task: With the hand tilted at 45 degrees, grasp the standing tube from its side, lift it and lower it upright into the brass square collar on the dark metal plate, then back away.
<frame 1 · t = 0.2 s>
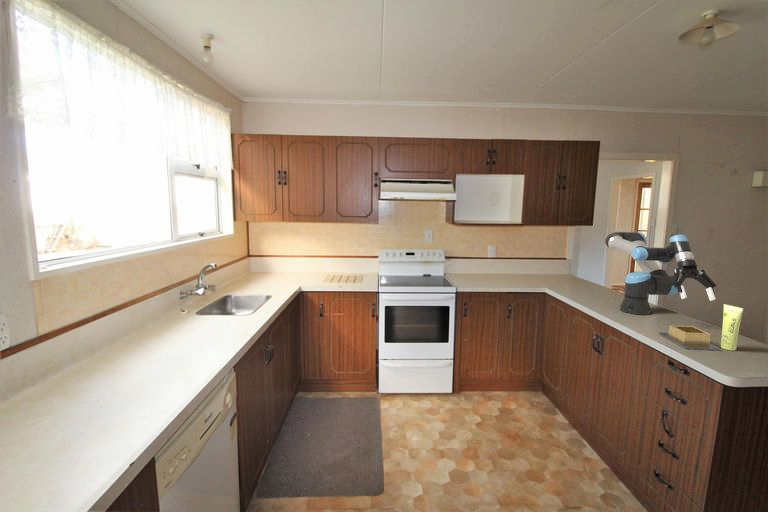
hand: (698, 299, 175), 16 cm above the countertop, tool tilted 35°, fingers open, 13 cm apart
collar plate: (687, 342, 161), on the countertop
tube: (727, 348, 154), on the countertop
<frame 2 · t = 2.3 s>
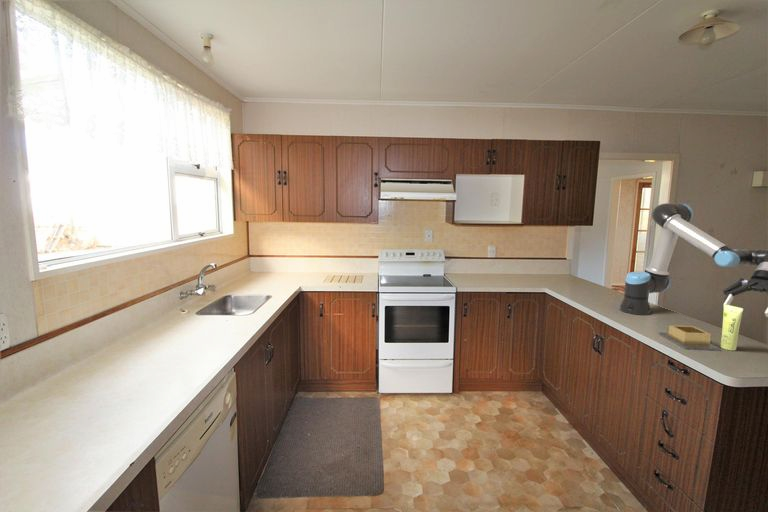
hand: (744, 310, 153), 17 cm above the countertop, tool tilted 45°, fingers open, 13 cm apart
nothing on the countertop moved.
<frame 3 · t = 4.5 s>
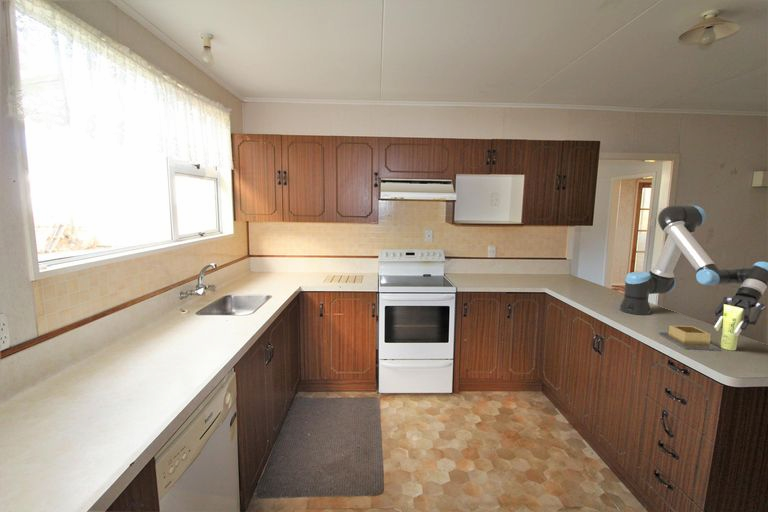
hand: (725, 331, 151), 8 cm above the countertop, tool tilted 45°, fingers closed on tube, 6 cm apart
tube: (727, 348, 154), on the countertop, touching gripper
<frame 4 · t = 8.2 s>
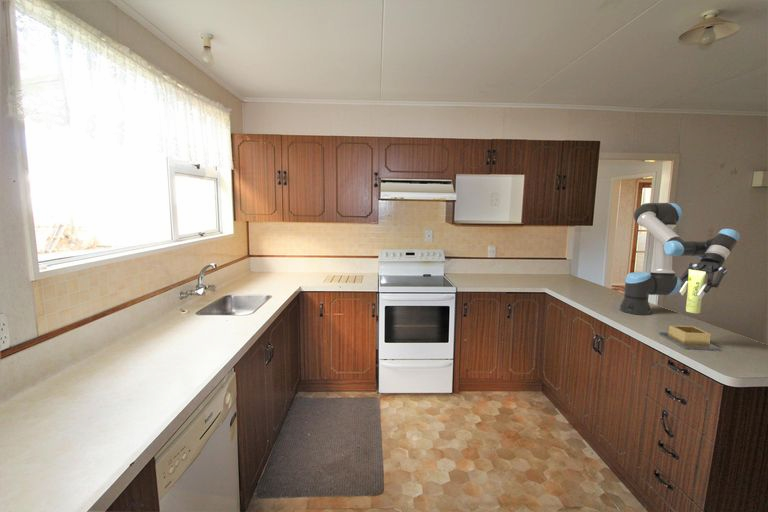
hand: (690, 295, 156), 23 cm above the countertop, tool tilted 45°, fingers closed on tube, 6 cm apart
tube: (692, 312, 159), point 14 cm above the countertop, touching gripper
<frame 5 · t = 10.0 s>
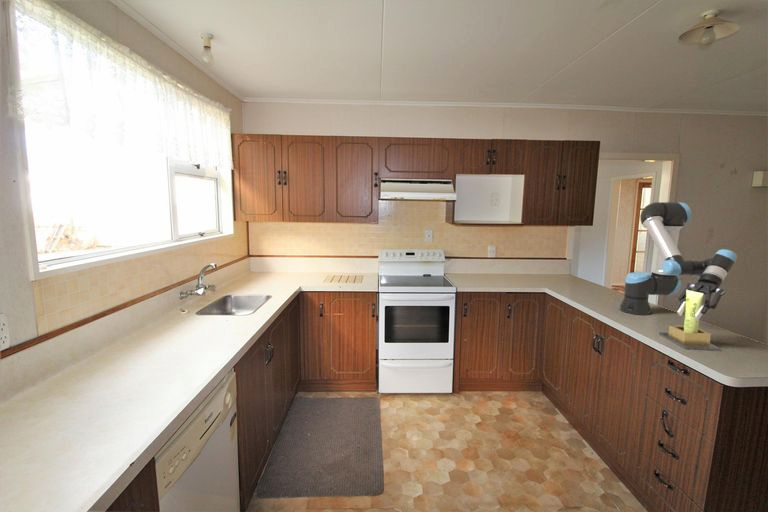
hand: (687, 315, 157), 13 cm above the countertop, tool tilted 45°, fingers closed on tube, 6 cm apart
tube: (690, 332, 160), point 5 cm above the countertop, touching gripper
when the fingers open (11 cm above the countertop, at t = 11.5 s): tube drops 1 cm, resting on collar plate.
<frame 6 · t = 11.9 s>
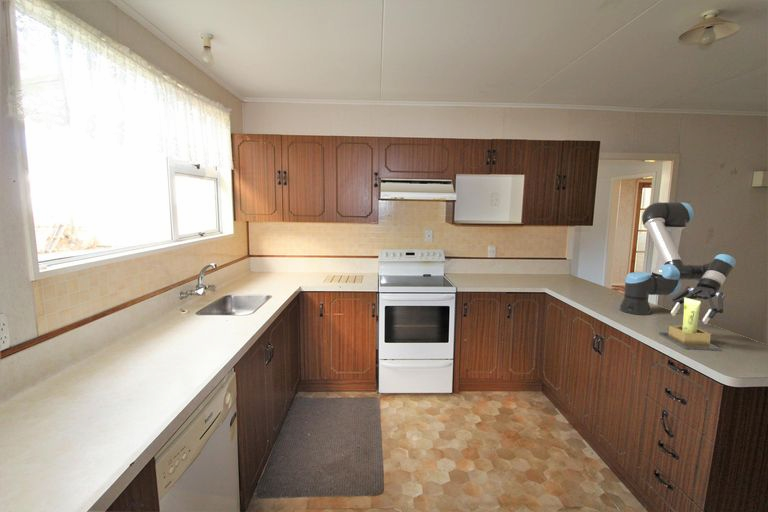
hand: (687, 318, 158), 12 cm above the countertop, tool tilted 45°, fingers open, 11 cm apart
tube: (688, 340, 161), point 1 cm above the countertop, touching collar plate
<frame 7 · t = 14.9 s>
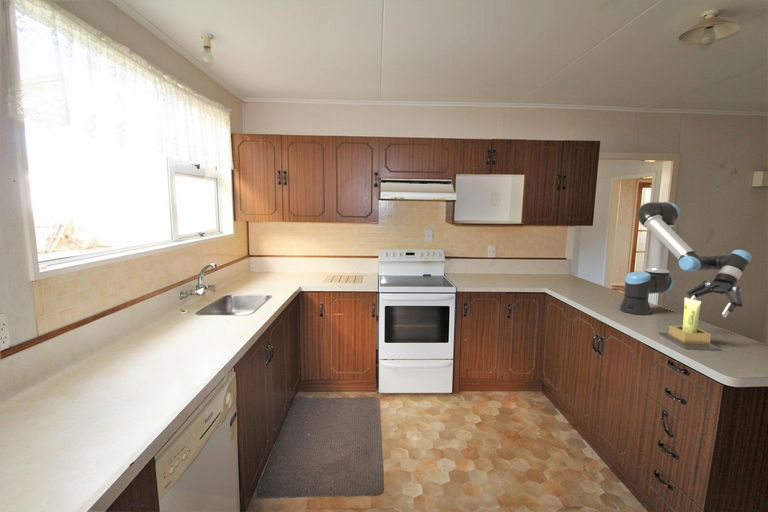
hand: (705, 311, 163), 13 cm above the countertop, tool tilted 45°, fingers open, 13 cm apart
nothing on the countertop moved.
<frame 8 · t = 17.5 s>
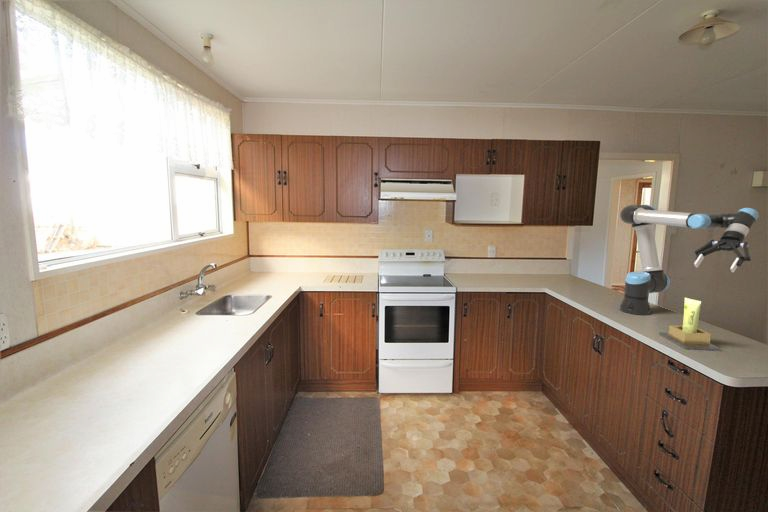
hand: (713, 268, 163), 34 cm above the countertop, tool tilted 45°, fingers open, 13 cm apart
nothing on the countertop moved.
at the end: tube 0.1 cm off-centre on the collar plate, point 0.8 cm above the collar plate's base; tube tilted 0°; the gripper is holding nothing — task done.
